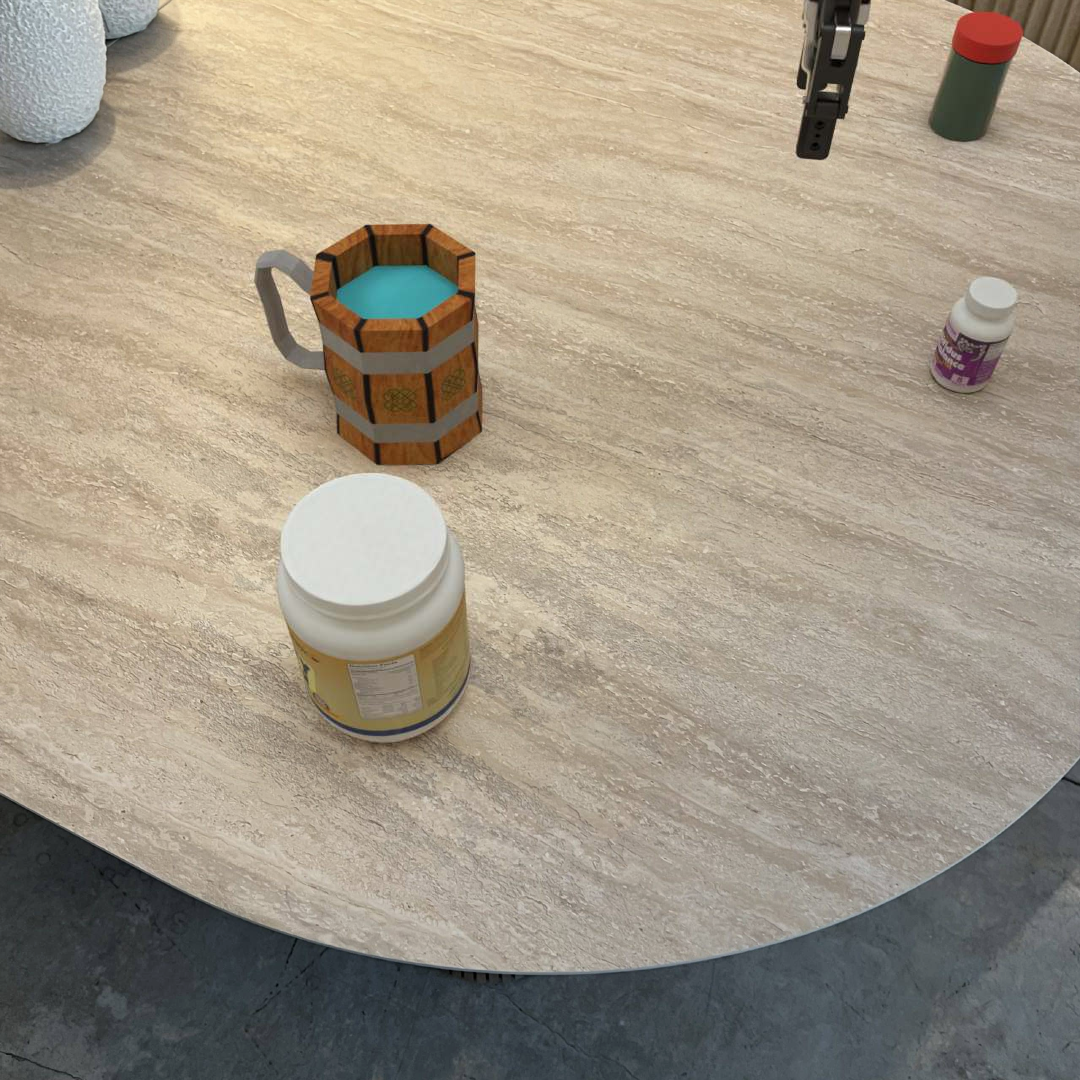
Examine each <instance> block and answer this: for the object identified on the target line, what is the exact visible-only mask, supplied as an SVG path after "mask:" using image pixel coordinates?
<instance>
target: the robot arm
mask: <svg viewBox="0 0 1080 1080" xmlns="http://www.w3.org/2000/svg"><path fill="white" fill-rule="evenodd" d="M871 4H872V0H803V3H802V10H801V11H802V13H801V20H803V21H802V29H803V34H804V38H803V42H802V48H801V53H800V59H799V64H798V70H797V74H796V87H797V88H798V89H799V90H802V91H803V90H804V93H805V94H804V95H803V96H802V100H801V101H802V102H801V104H802V105H803V110H802V115H801V120H800V125H799V130H798V134H797V139H796V144H795V155H796V157H797V158H798V159H803V160H815V161H823V160H826V159H827V158H828V157H829V155H830V151H831V147H832V144H833V139H834V134H835V131H836V126H837V121H838V120H845V118H846V115H847V114H848V113H849V107H850V106H849V102H850V98H851V92H852V88H853V85H854V79H855V75H856V70H857V68H858V65H859V57H860V53H861V48H862V44H863V41H865V38H866V31H865V25H867V23H868V22H869V19H870V12H871ZM828 85H836V89H835V91H825V90H826V89H827V87H828Z"/></svg>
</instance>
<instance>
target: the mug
mask: <svg viewBox="0 0 1080 1080" xmlns="http://www.w3.org/2000/svg"><path fill="white" fill-rule="evenodd" d="M313 266H314V267H313V269H312V268H311V267H310V266H309V265H308V264H307V263H306V262H305V261H304V260H302V258H300V257H299V256H296V255H295V254H293V253H291V252H290V251H288V250H286V249H284V248H281V249H275V250H268V251H264V252H263V253H262V254H260V255H259V257H258V258H257V261H256V263H255V270H254V279H253V282H254V285H255V288H256V291H257V293H258V296H259V299H260V302H261V304H262V308H263V311H264V315H265V319H266V323H267V326H268V329H269V332H270V335H271V339H272V342H273V344H274V345H275V346H276V348H277V349H278V351H279V353H280V354H281V355H282V356H283V358H284V359H285V360H286V361H288V362H289V363H291V364H292V365H295V366H296V367H298V368H300V369H306V370H317V371H324V373H325V375H326V378H327V381H328V385H329V387H330V390H331V393H332V397H333V403H334V408H335V412H336V434H337V435H338V436H339V437H340V438H342V439H343V440H344V441H346V442H347V443H348V444H350V445H351V446H352V447H354V448H355V449H356V450H357V451H359V452H360V453H361V454H362V455H364V456H365V457H366V458H368V459H369V460H370V461H372V462H373V463H374V464H375V465H376V466H385V465H386V466H388V465H389V466H392V465H394V466H395V465H397V466H398V465H440V463H442V462H443V461H445V460H446V459H447V458H448V457H450V456H451V455H452V454H454V453H455V452H457V451H458V450H459V449H460V448H462V447H463V446H464V445H466V444H467V443H469V442H470V441H471V440H472V439H474V438H476V437H477V435H479V434H480V433H482V432H483V386H482V385H483V384H482V379H481V376H480V371H479V319H478V314H477V313H478V312H477V307H476V301H475V300H476V252H475V251H474V250H472V249H471V248H469V247H468V246H466V245H465V244H463V243H461V242H459V241H458V240H457V239H455V238H453V237H452V236H450V235H449V234H447V233H446V232H444V231H443V230H441V229H439V228H438V227H436V226H434V225H433V224H431V223H401V224H400V223H396V224H395V223H392V224H391V223H390V224H389V223H388V224H382V223H381V224H364V225H363V226H361V227H360V228H358V229H356V230H354V231H353V232H350V233H349V234H348V235H346V236H345V237H343V238H341V239H339V240H338V241H336V242H334V243H333V244H331V245H329V246H328V247H326V248H324V249H322V250H321V251H320V252H317V253H316V254H315V259H314V265H313ZM272 269H276V270H277V271H280V272H281V273H284V274H285V275H286V276H288V277H289V278H290V279H291V280H292V281H293V282H294V283H295V284H296V285H297V286H298V287H299V288H300V289H301V290H303V291H304V292H305V293H306V294H307V295H309V300H310V302H311V306H312V308H313V311H314V314H315V317H316V319H317V322H318V327H319V332H320V338H321V342H322V350H315V351H314V350H313V351H311V350H309V349H307V348H306V347H304V346H302V345H301V344H299V343H298V342H297V341H296V340H295V338H294V336H293V335H292V332H291V331H290V330H289V325H288V322H287V318H286V314H285V310H284V305H283V302H282V301H283V300H282V297H281V295H280V293H279V290H278V287H277V285H276V284H277V283H276V282H275V279H274V276H273V273H272V271H273V270H272Z"/></svg>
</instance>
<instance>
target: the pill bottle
mask: <svg viewBox="0 0 1080 1080" xmlns="http://www.w3.org/2000/svg"><path fill="white" fill-rule="evenodd" d="M1018 298H1019V297H1018V292H1017V291H1016V289H1015V287H1014V286H1013V285H1012V284H1011V283H1009V282H1007V281H1006V280H1003V279H1002V278H998V277H995V276H982V277H978V278H976V279H973V281H972V282H971V283H970V284H969V286H968V288H967V290H966V293H965V295H964V296H962V297H960V298H959V299H958V300H957V301H956V302H955V303H954V304H953V306H952V308H951V309H950V312H949V315H948V317H947V319H946V322H945V325H944V327H943V330H942V333H941V335H940V337H939V340H938V343H937V345H936V347H935V349H934V354H933V355H932V358H931V361H930V372H931V374H932V376H933V378H934V379H935V381H936V382H937V383H938V384H940V385H941V386H942V387H943V388H945V389H947V390H949V391H952V392H955V393H961V394H968V393H974V392H977V391H980V390H982V389H984V388H985V387H986V386H987V384H988V383H989V382H990V380H991V378H992V376H993V374H994V371H995V369H996V367H997V365H998V363H999V361H1000V359H1001V356H1002V354H1003V352H1004V350H1005V348H1006V345H1007V343H1008V341H1009V339H1010V338H1011V335H1012V333H1013V330H1014V327H1015V323H1016V320H1015V315H1014V309H1015V306H1016V304H1017V301H1018Z"/></svg>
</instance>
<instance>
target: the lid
mask: <svg viewBox="0 0 1080 1080" xmlns="http://www.w3.org/2000/svg"><path fill="white" fill-rule="evenodd" d="M1023 35H1024V30H1023V27H1022V26H1021V25H1020V24H1019V23H1018V22H1017V21H1016V20H1014V19H1013V18H1011V17H1009V16H1007V15H1004V14H1002V13H997V12H992V11H973V12H969V13H966V14H964V15H962V16H961V17H960V18H958V20H957V23H956V26H955V29H954V33H953V35H952V38H951V46H953V48H954V49H955V50H956V51H957V52H958V53H959V54H960V55H962V56H964V57H966V58H968V59H970V60H973V61H977V62H982V63H1001V62H1005V61H1008V60H1010V59H1012V58H1013V59H1014V57H1015V56H1016V55H1017V52H1018V50H1019V47H1020V44H1021V41H1022V38H1023Z"/></svg>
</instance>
